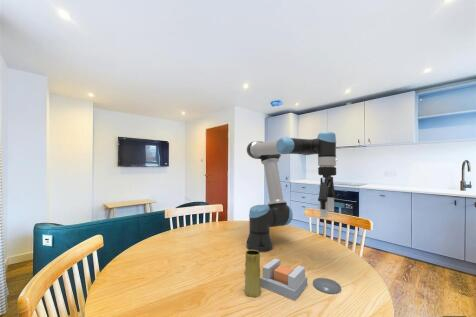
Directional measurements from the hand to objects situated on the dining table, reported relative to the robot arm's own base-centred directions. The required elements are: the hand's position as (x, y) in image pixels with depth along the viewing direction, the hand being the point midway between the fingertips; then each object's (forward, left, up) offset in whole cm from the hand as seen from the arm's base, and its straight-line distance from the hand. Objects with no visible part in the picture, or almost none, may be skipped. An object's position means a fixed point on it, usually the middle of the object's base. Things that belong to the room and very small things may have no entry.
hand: (327, 214), depth 93 cm
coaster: (+3, -13, -25) cm, 28 cm away
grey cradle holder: (-10, -23, -25) cm, 35 cm away
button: (-10, -23, -22) cm, 34 cm away
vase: (-17, -34, -25) cm, 46 cm away
